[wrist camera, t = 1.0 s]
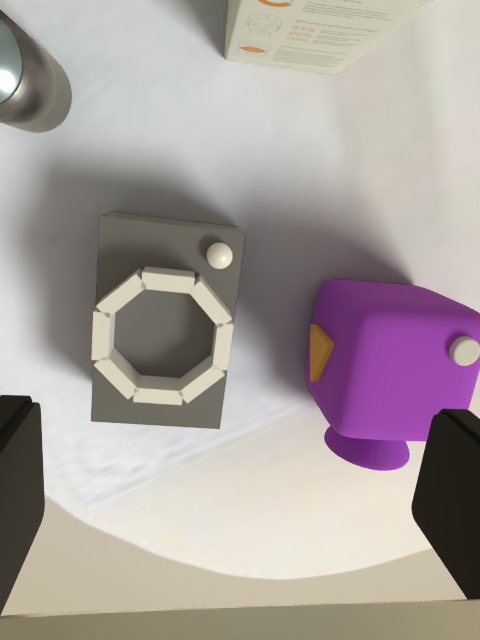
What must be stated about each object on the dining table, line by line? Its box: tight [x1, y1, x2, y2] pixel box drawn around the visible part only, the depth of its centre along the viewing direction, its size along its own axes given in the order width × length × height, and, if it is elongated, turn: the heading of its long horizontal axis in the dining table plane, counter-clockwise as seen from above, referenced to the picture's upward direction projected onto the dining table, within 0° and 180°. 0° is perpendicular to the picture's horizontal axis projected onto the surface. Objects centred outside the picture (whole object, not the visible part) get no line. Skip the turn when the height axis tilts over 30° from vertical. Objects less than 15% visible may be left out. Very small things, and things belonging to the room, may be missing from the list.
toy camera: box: [305, 279, 480, 471], centre depth 32 cm, size 11×14×10 cm
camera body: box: [91, 211, 245, 429], centre depth 31 cm, size 14×9×7 cm, turn 172°
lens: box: [0, 10, 72, 133], centre depth 25 cm, size 5×5×8 cm
